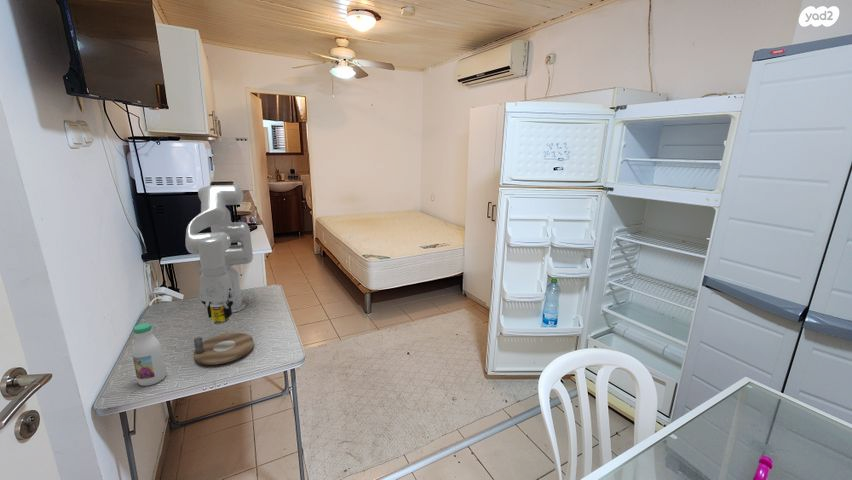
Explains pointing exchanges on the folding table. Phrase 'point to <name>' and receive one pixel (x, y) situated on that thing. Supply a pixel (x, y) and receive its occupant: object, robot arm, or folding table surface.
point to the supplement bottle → (218, 313)
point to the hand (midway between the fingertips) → (220, 316)
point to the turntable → (222, 348)
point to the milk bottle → (147, 356)
